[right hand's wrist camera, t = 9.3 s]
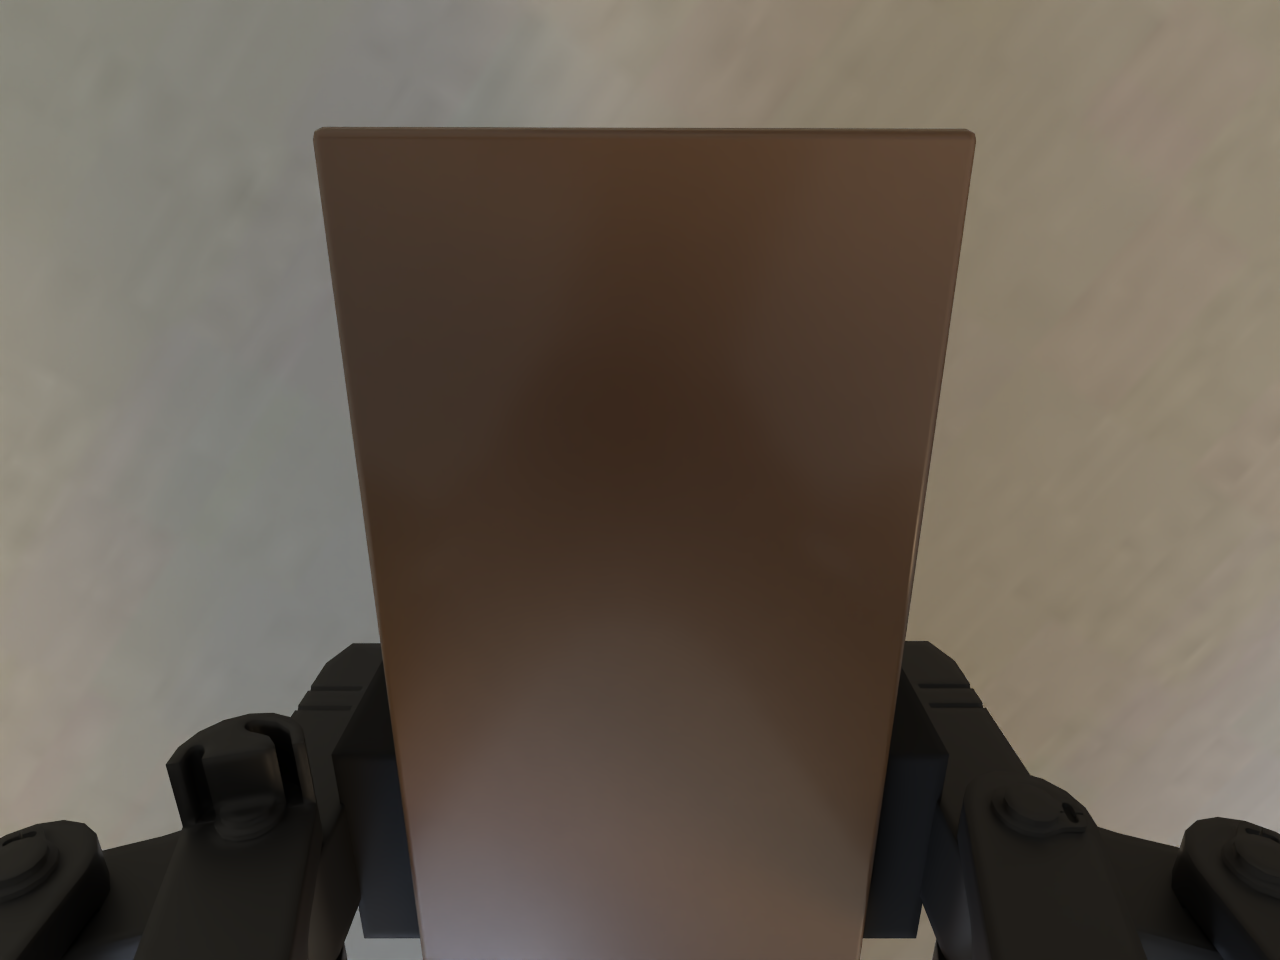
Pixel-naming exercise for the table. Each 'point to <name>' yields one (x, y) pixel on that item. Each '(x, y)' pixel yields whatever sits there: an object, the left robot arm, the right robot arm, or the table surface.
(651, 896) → the beam
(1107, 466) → the table surface
